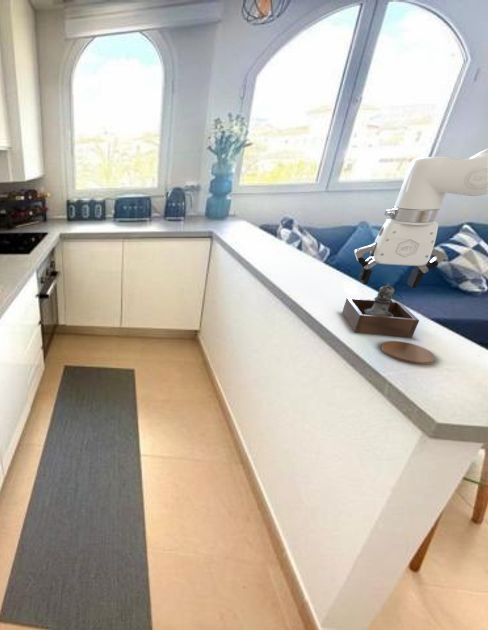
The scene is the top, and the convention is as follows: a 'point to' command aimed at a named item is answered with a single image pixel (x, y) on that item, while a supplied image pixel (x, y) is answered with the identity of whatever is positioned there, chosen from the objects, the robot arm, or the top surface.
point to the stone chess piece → (382, 302)
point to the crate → (379, 319)
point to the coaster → (408, 352)
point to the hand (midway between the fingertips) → (386, 284)
